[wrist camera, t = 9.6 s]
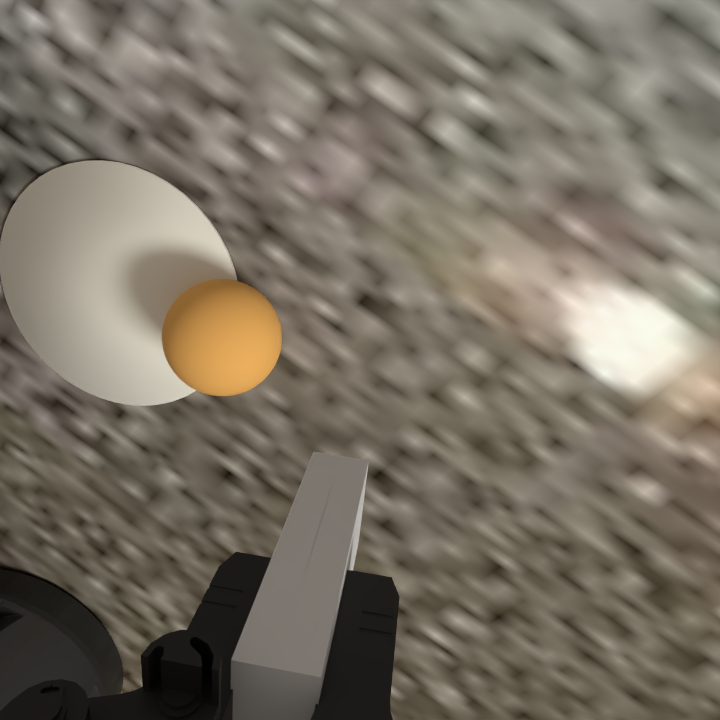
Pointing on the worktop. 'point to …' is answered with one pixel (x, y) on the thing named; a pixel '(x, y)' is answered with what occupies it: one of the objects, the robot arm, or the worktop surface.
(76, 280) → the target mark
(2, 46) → the worktop surface
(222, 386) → the ball
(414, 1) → the worktop surface
